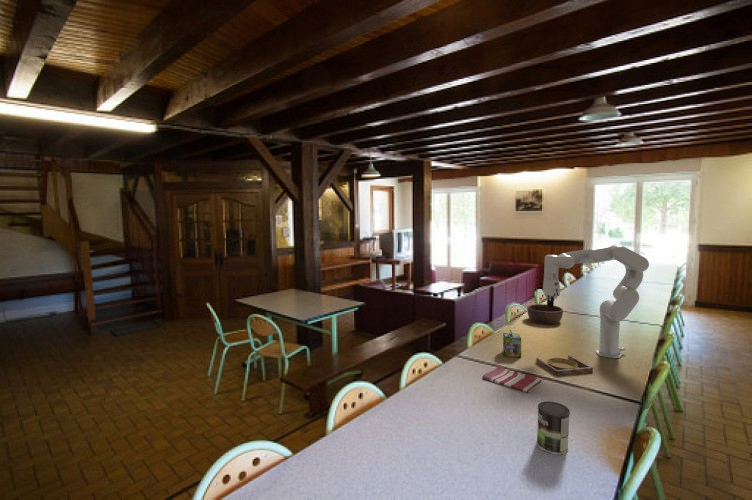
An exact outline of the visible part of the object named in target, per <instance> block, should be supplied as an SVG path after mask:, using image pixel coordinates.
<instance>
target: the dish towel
mask: <svg viewBox="0 0 752 500" xmlns="http://www.w3.org/2000/svg"><path fill="white" fill-rule="evenodd" d="M482 379H483V380H485V381H488V382H492V383H494V384H497V385H501V386H504V387H508V388H509V389H512V390H516V391H519V392H523V393H525V394H530V393H531V392H532V391H533V390H535V389H536V388H538V387H539V386H540V385H541V384H542V383H543V382H542V379H541V378H540V377H536V376H534V375H531V374H523V373H521V372H517V371H513V370H510V369H506V368H503V366H499V365H498V366H497V367H496V368H494V369H493V370H491V371H488V372H486V373H485V374H483V375H482Z"/></svg>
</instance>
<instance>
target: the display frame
mask: <svg viewBox="0 0 752 500" xmlns="http://www.w3.org/2000/svg"><path fill="white" fill-rule="evenodd" d="M567 359H568V360H571V361H574V362H575V363H577V365H578V366H577V367H576V368H575V369H564V370H556V369H555V368H553V367H552V366H550V365H549V364H548V362H547V363H546V362H545V361H543V360H542V359H540V358H539V357H536V359H535V362H536V363H537V364H538V365H539V366H540V367H542V368H544V369H545V370H546V371H548V372H550V373H551V374H553V375H554V376H556V377H559V376H568V375H569V376H571V375H578V374H579V375H581V374H589V373H590V374H591V373H593V372H594V367H593V366H591V365H589V364H587V363H585V362H583V361H582V360H579V359H578V358H575V357H574V356H572V355H569V354H568V355H567Z"/></svg>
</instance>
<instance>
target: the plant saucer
mask: <svg viewBox="0 0 752 500" xmlns="http://www.w3.org/2000/svg"><path fill="white" fill-rule="evenodd" d="M546 362H547V364H548V365H550V366H552V367H553V368H555V369H556V370H564V369H575V368H578V367H579V366H578V365H577V363H575V362H574V361H571V360H568V358H561V357H552V358H548V359H547V360H546Z"/></svg>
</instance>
